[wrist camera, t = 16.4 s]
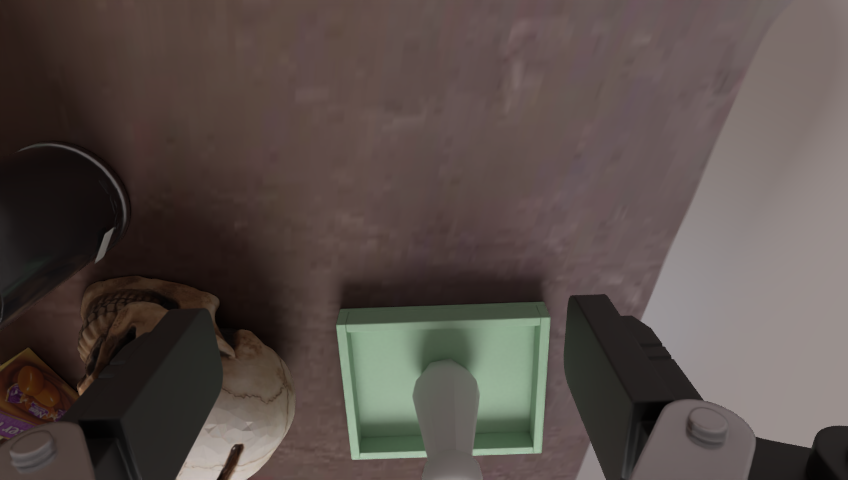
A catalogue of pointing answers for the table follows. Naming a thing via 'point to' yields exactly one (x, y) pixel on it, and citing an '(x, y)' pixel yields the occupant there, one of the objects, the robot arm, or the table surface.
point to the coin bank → (242, 373)
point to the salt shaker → (448, 420)
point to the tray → (433, 341)
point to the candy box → (30, 394)
